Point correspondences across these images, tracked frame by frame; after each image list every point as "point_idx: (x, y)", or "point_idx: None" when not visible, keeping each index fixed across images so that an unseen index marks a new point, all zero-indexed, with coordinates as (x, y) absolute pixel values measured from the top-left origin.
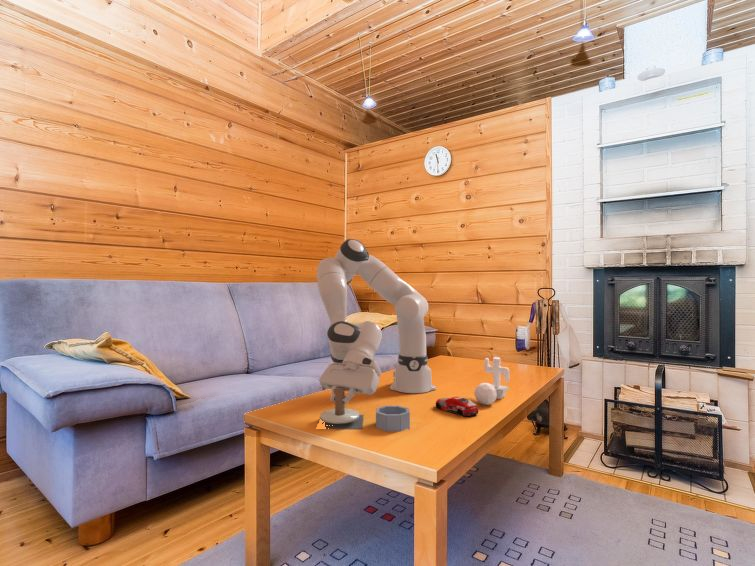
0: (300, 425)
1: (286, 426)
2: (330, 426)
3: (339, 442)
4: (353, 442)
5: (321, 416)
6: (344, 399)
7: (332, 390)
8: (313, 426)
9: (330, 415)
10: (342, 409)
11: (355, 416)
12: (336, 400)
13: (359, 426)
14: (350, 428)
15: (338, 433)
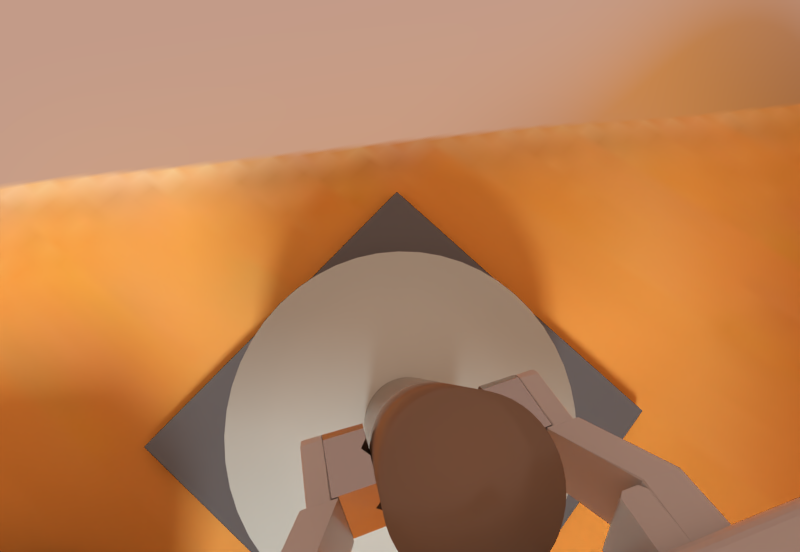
0: (546, 193)
1: (582, 125)
2: None
3: (106, 175)
4: (27, 237)
5: (461, 266)
6: (322, 446)
7: (627, 452)
8: (475, 239)
9: (432, 335)
10: (366, 426)
11: (244, 488)
12: (421, 383)
13: (209, 469)
14: (228, 383)
15: (241, 274)
